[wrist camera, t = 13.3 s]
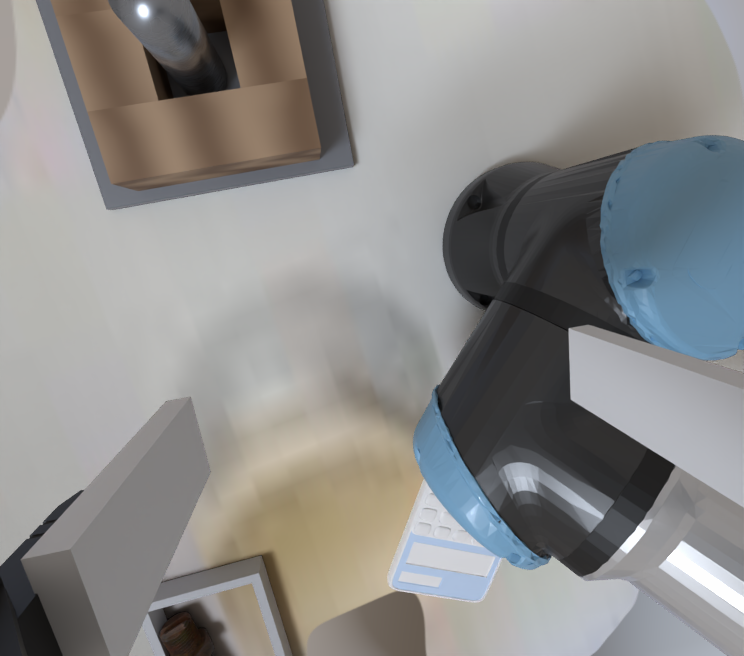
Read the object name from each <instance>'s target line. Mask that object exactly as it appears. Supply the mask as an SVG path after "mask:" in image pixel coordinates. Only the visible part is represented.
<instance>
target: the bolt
mask: <svg viewBox="0 0 744 656" xmlns="http://www.w3.org/2000/svg"><path fill="white" fill-rule="evenodd" d="M160 636H161V637H160V638H161V640H162V641H163V643H164V645H165V647H166V648H167V650H168V652H169V656H212V653H213V650H214V646H213V643H212V641H211V639H210V637H209V635H208V633H207V631H206V629H205V628H198V629H197V627H196V625H195V623H194V622H193V620H192V618H191V616H190V614H189V613H187V612H182V613H178V614H176V615H174V616H173V617H171V618H170V619H169V620H168V621H167V622H166V623H165V624H164V625H163V627H162V629H161V631H160Z"/></svg>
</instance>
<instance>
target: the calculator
mask: <svg viewBox="0 0 744 656" xmlns="http://www.w3.org/2000/svg"><path fill="white" fill-rule="evenodd" d="M501 561H502V558H500V557H498V556H496V555H495V554H493V553H492V552H490V551H489V550H487V549H486V548H485V547H484V546H482V545H481V544H480V543H479V542H477V541H476V540H475V539H474V538H473V537H472V536H471V535H470V534H469V533H468V532H467V531H466V530H465V529H464V528H463V527H462V526H461V525H460V524H459V523H458V522H457V521H456V520H455V519H454V518H453V517H452V516H451V515H450V514H449V512H448V511H447V510H446V509H445V508H444V506H443V505H442V504H441V503H440V501H439V500H438V499H437V497H436V496H435V495H434V493H433V492H432V490H431V489H430V487H429V486H428V484H427V482H426V481H425V479H424V480H423V482H422V485H421V488H420V490H419V493H418V495H417V498H416V501H415V503H414V506H413V508H412V511H411V514H410V516H409V519H408V522H407V524H406V527H405V529H404V532H403V535H402V537H401V540H400V542H399V545H398V548H397V550H396V553H395V556H394V558H393V561H392V563H391V566H390V569H389V572H388V576H387V580H388V585H389V586H390V587H391V588H392V589H394V590H397V591H403V592H409V593H415V594H421V595H428V596H434V597H441V598H447V599H454V600H460V601H467V602H480V601H482V600H483V599H484V598H485V596H486V594H487V592H488V590H489V588H490V586H491V584H492V581H493V579H494V577H495V574H496V572H497V570H498V568H499V565H500V563H501Z"/></svg>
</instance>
